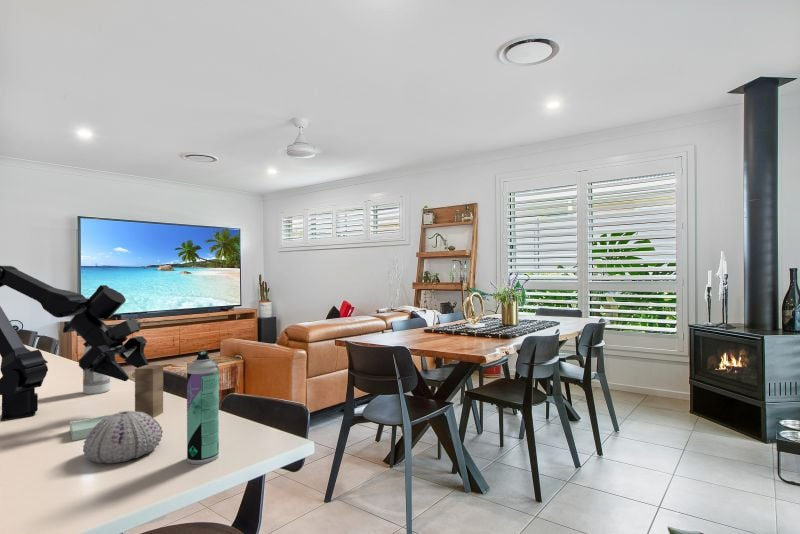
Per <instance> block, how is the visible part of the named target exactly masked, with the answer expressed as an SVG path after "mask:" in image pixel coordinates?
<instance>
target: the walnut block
mask: <svg viewBox="0 0 800 534" xmlns="http://www.w3.org/2000/svg"><path fill="white" fill-rule="evenodd" d="M134 411H136V412H143V413H146V414H148V415H149V416H151V417H153V418H154V419H155V418H156V417H157V416H159V415H161V414H163V413H164V365H163V364H149V365H145V366H142V367H139V368H136V367H135V368H134Z"/></svg>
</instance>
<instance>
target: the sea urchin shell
mask: <svg viewBox="0 0 800 534" xmlns="http://www.w3.org/2000/svg"><path fill="white" fill-rule="evenodd" d="M109 415H110V416H108V417H106V418H104V419H103V420H102V421H100V422H99V423H98V424H97V425H96V426H95V427H94V428H93V429H92V430H91V431H90V433H89V435H87V438H85V440H84V441H83V444H84V445H83V446H82V447H83V449H82V452H83V454H84V455H83V456H85V458H86V459H89V461H91V462H93V463H96V464H97V463H98V464H113V465H114V464H117V463H118V464H119V463H123V462H129V461H130V460H131V459H137V458H138V459H139V458H140V457H141V458H142V457H143V455H146V454H147V455H148V454H149V453H150V452H152V451H153V450H155V448H156V447H158V446H159V445H160V442H161V441H162V438H163V433H164V431H163V427H162V425H161V424H160V423H159V422H158V421H157V420H156V419H155V417H154V418H153V417H151V416H149V415H148V414H146V413H143V412H136V411H135V410H133V411H132V410H124V411H119V412H116V413H113V414H109Z"/></svg>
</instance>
